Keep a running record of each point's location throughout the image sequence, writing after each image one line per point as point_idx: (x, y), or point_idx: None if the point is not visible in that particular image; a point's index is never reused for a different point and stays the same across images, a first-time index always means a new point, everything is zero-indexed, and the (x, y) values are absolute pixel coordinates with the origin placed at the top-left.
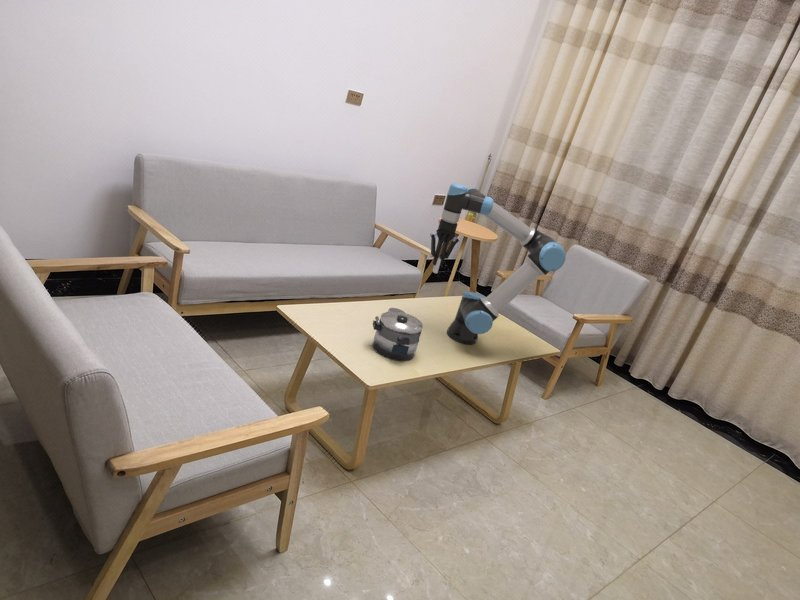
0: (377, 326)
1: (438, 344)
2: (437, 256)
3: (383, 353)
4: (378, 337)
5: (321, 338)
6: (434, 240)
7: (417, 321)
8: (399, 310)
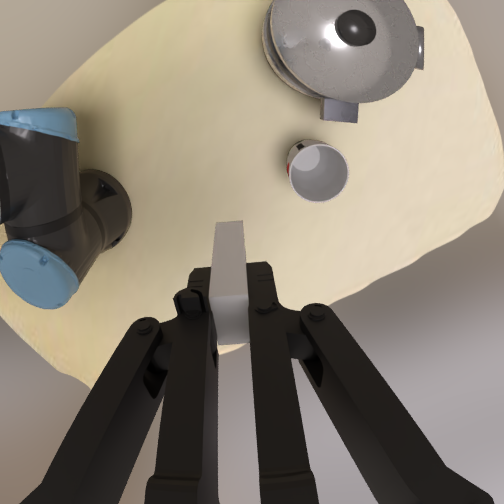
0: None
1: (166, 127)
2: (264, 314)
3: None
4: None
5: (475, 77)
6: (421, 474)
7: (289, 33)
8: (303, 196)
